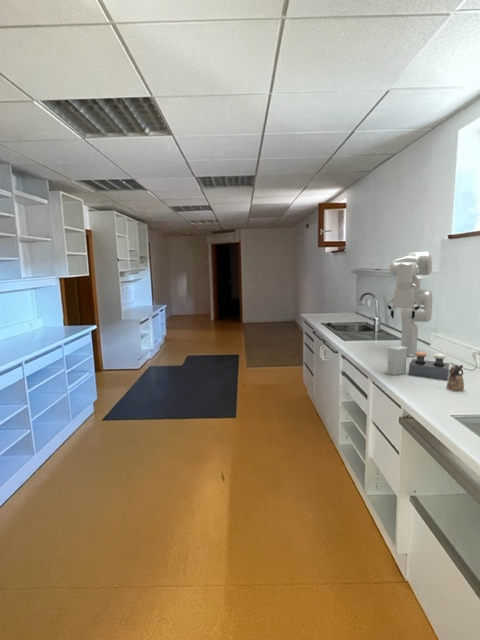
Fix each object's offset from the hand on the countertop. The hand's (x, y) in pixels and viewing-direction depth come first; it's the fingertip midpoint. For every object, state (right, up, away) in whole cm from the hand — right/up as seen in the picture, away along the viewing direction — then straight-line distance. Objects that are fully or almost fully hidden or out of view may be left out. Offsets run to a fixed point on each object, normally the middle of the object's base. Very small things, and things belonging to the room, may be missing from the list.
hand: (402, 318), depth 194 cm
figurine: (+16, -34, -21) cm, 43 cm away
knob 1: (+11, -26, +3) cm, 28 cm away
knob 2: (+18, -27, -2) cm, 32 cm away
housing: (+15, -30, +1) cm, 34 cm away
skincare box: (-1, -30, +4) cm, 31 cm away
